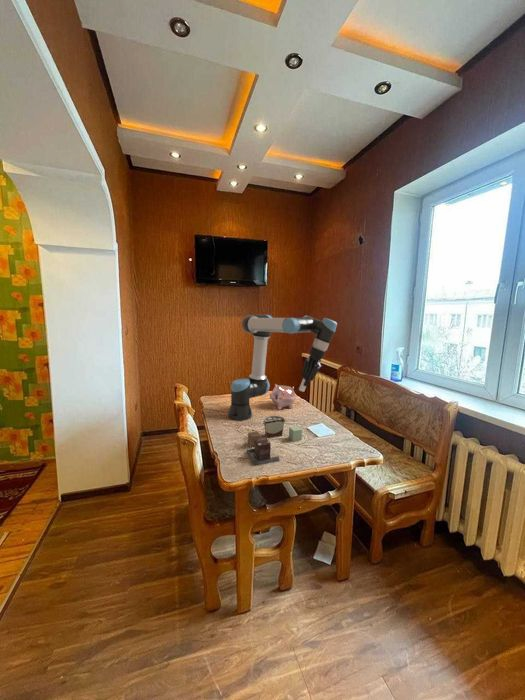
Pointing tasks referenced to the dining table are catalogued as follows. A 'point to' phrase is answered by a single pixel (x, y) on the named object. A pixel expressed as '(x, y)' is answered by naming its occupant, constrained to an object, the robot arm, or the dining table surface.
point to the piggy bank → (283, 396)
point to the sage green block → (295, 433)
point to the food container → (273, 426)
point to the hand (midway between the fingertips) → (301, 390)
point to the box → (262, 448)
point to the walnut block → (253, 437)
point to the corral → (258, 462)
